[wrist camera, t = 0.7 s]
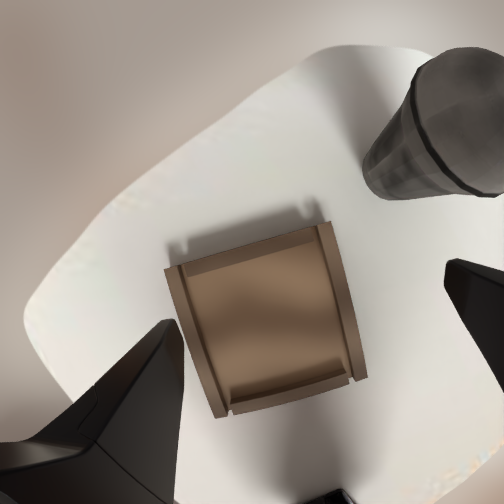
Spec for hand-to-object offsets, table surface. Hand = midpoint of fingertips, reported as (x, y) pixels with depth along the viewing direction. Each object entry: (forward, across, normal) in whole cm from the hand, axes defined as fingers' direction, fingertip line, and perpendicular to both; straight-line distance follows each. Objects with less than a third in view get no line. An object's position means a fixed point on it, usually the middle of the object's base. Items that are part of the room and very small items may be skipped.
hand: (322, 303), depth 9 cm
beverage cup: (+15, -10, 0) cm, 18 cm away
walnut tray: (+11, +2, +9) cm, 14 cm away
